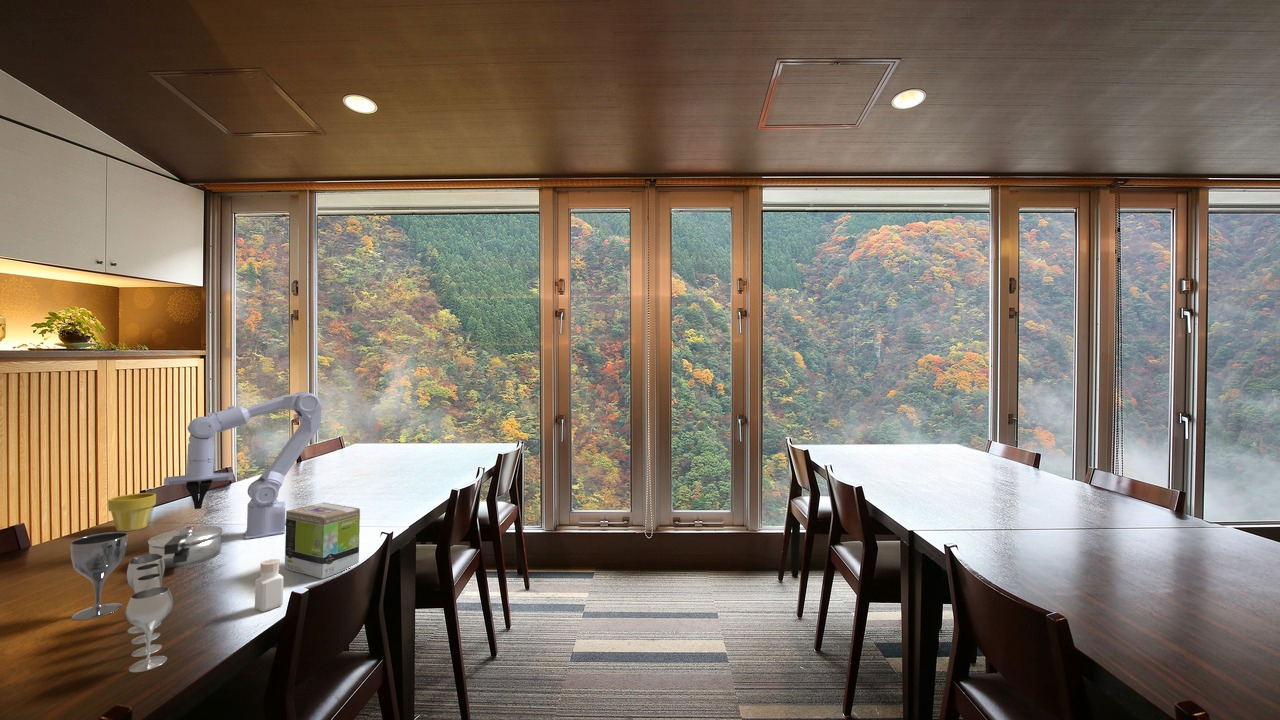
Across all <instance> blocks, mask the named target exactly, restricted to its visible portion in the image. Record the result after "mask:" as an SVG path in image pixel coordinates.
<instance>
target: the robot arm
mask: <svg viewBox="0 0 1280 720" xmlns="http://www.w3.org/2000/svg"><path fill="white" fill-rule="evenodd" d="M279 410H290V411H294V412H295V413H296V414H297V417H298V420H299V423H300V425H299V426H298V427H297V429H296V430H295V432H293V434H292V436H291V437H290V438H289V440H288V441H287V442H286V444H285V445H284V447H283V448H282V449H281V451H280V452H279V453H278V455H277V456H276V457H275V459H274V460H273V462H272V463H271V465H270V466H269V467H268V469H266V470H265V471H264V472H263V473H261V474H260V476H259V478H257V479H256V480H254V481H253V482H251V483H250V485H249V486H248V487H247V495H248V497H249V498H251V499H250V501H249V502H248V503H247V510H246V511H247V512H246V514H247V515H246V516H247V517H246V530H245V531H244V532H245V534H244V539H245V540H249V539H255V538H261V537H267V536H274V535H275V536H276V535H281V534H286V501H278V497H279V493H280V489H281V487H282V485H283V483H284V479H285V477H286V476H287V474H288V472H289V471H290V470H291V468H292V467H293V466H294V464H295V463H296V462H297V460H298V458H299V457H300V456H301V455H302V453H303V452H304V450H305V448H306V447H307V446H308V445H309V443H310V442H311V440H312V438H314V436H315V434H316V433H317V432H318V430H319V429H320V427H321V425H322V410H323V404H322V402H321V400H320V398H319V396H318V395H317V394H315V393H313V392H312V393H311V392H306V391H299V392H296V393H290V394H285V395H281V396H278V397H274V398H272V399H270V400H265V401H264V402H263V401H262V402H260V403H257V404H254V405H251V406H248V407H243V406H241V405H237V406H234V405H230V406H227V409H223V410H220V411H217V412H214V413H213V412H208V413H207V416H205V415H204V416H203V415H202V416H197V417H194V418H193V419H192V420H191V421H190V422H189V423H188V425H187V431H188V433H190V434H189V437H188V441H189V442H188V444H187V456H186V457H187V458H186V460H187V461H186V472H185V473H186V474H183V475H177V476H166V477H164V479H163V486H170V485H183V484H186V485H185V487H186V490H187V491H188V493H189V494H190V495H189V496H191V498H192V502H193V507H194V510H200V509H202V507H203V502H204V499H205V497H206V495H207V493H208V491H209V489H210V487H211V486H212V484H213V482H220V481H233V480H234V472H233V471H232V472H214V467H215V465H214V464H215V448H216V447H215V446H216V443H215V435H216V433H217V432H219V433H222V432H225V431H228V430H231V429H234V428H237V427H238V428H239V427H240V426H244V425H247V424H248V422H249V420H250V419H251V418H254V417H258V416H261V415H265V414H268V413H271V412H275V411H279Z"/></svg>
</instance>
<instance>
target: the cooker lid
mask: <svg viewBox="0 0 1280 720" xmlns="http://www.w3.org/2000/svg"><path fill="white" fill-rule="evenodd" d="M222 533H223V528H222V527H220V526H215V525H200V526H195V525H191V526H190V525H189V526H187V527H184V528H179V529H174V530H170V531H167V532H162V533H159V534H157V535H154V536H152V537H150V538H149V539H148V540H147V544H148V547H149V546H151V547H164V555H166V554H173V553H178V552H179V551H180V550H181V549H182V548H183V547H184V546H185V545H190V544H195V543H199V542H203V541H206V540H210V539H212V538H215V537H217V536H219V535H221V536H222Z"/></svg>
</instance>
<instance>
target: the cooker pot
mask: <svg viewBox="0 0 1280 720" xmlns="http://www.w3.org/2000/svg"><path fill="white" fill-rule="evenodd" d="M221 549H222V534H221V535H219V536H217V537H215V538H212V539H210V540H206V541H203V542H199V543H195V544H190V545H185V546H184V547H183V548H182V549H181V550H180V551H179V552H178V553H173V554H166V555H164V547H151V546H149V545H148V554H159V555H162V556H163V558H164V563H165V568H164V569H169V568H170V569H171V568H179V567H184V566H191V565H194V564H199V563H203V562H205V561H209V560H211V559H213V558H215V557H217V556H218V555H220V554H221Z"/></svg>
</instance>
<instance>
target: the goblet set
mask: <svg viewBox="0 0 1280 720" xmlns="http://www.w3.org/2000/svg"><path fill="white" fill-rule="evenodd" d="M165 569H166V568H165V563H164V558H163V556H162V555H159V554H149V553H148V554H142V555H138V556H135V557H133V558H131V559H129V562H128V565H127V569H126V579H127V583H128V585H129V586H130V589H132V590H133V592H134V593H133V594H132V595H131V597H130V598H129V601H128V603H127V606H126V609H125V618H126V620H127V622H128V623H129V624H130V625H133V626H131V627H129V629H127V633H128V634H133V635H135V634H141V633H144V634H142V635H139V636H136V637H134V638H133V639H132V640H131V641H130V644H132V645H140V644H145V646H142V647H139V648H137V649H136V650H134V651H132V652H131V656H132V657H134V658H137V657H138V658H139V657H145V656H146V658H143V659H141V660H139V661H136V662H135V663H133V664H132V665H131V666H129V668H128V671H129V672H131V673H139V672H140V673H141V672H145V671H149V670H153V669H155V668H157V667H159V666H161V665H163V664H165V662H167V660H168V657H167V656H166V655H154V656H151V654H154V653H156V652H158V651H159V650H161V649H162V647H163V645H162V644H157V643H155V644H151V643H152V641H153V640H156V639H159V637H160V636H161V633H160V632H154V631H155V629H156V628H158V627H160V626H161V625H162V621H163V620H164V619H165V618H166V617H167V616H168V615H169V613H170V612H171V611H172V609H173V605H174V598H173V594H172V593H171V590H170V588H169V587H167V586H163V581H162V579H163V577H164V573H165Z"/></svg>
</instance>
